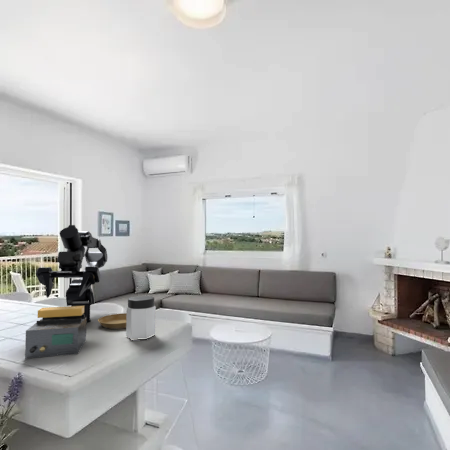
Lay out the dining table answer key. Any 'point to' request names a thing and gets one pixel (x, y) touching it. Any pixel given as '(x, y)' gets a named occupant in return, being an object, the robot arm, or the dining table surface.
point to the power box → (56, 336)
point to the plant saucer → (113, 321)
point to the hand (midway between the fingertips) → (63, 296)
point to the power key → (61, 311)
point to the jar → (140, 317)
